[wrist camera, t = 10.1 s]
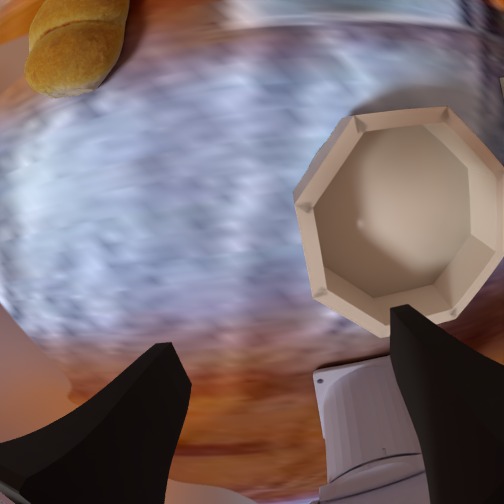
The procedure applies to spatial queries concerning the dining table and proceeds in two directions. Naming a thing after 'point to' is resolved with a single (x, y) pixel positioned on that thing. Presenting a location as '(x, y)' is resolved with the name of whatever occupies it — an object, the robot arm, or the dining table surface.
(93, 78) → the bread roll
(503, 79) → the mat
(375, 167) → the bowl
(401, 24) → the dining table surface
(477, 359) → the robot arm
